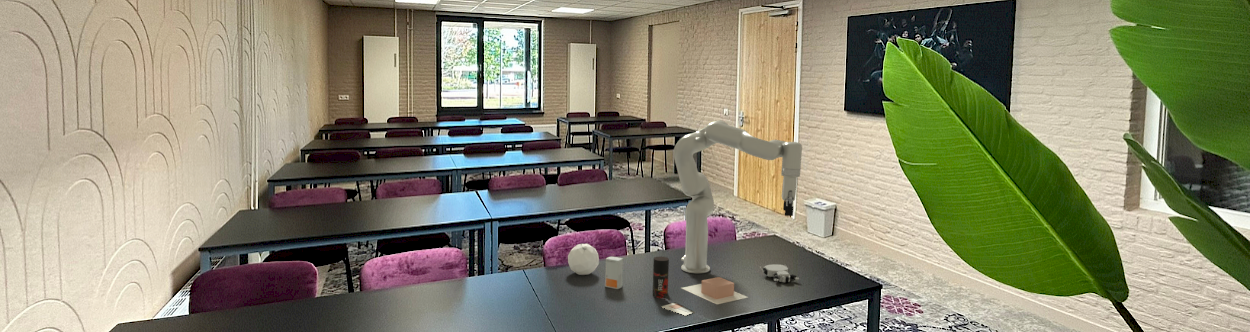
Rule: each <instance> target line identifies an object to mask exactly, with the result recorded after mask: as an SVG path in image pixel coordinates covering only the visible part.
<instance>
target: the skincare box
mask: <svg viewBox="0 0 1250 332" xmlns="http://www.w3.org/2000/svg"><path fill="white" fill-rule="evenodd" d="M623 270H624V258H623V257H618V256H608V257H606V258H605V277H604V281H605V282H604V286H605V287H606V288H610V289H614V290H619V289H621V288H623V279H624V278H623V277H624V273H623V272H624V271H623Z"/></svg>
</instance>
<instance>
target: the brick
mask: <svg viewBox="0 0 1250 332" xmlns="http://www.w3.org/2000/svg"><path fill="white" fill-rule="evenodd" d="M700 284H701V293H703V294H705V295H708V296H710V297H712V298H714V299H720V298H724V297H729V296H733V295H734V291H735V282H732V281H730V280H727V279H725V278H722V277H720V276H718V277H717V276H716V277H712V278H708V279H702V280H701V283H700Z"/></svg>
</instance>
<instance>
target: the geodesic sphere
mask: <svg viewBox="0 0 1250 332" xmlns="http://www.w3.org/2000/svg"><path fill="white" fill-rule="evenodd" d="M567 262H568V266H569V268H570V270H571V271H572V272H574V273H575V274H577V275H579V276H585V275H591V273H593V272H595V271H596V268H597V267H598V266H599V264H600V259H599V253H598V251H597V249H596V248H595V247H594V246H592V245H590V244H589V243H579V244H576V245H575V246H574V247H573V248H572V249H571V250H570V251H569V253H568V255H567Z"/></svg>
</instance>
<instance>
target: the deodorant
mask: <svg viewBox="0 0 1250 332" xmlns="http://www.w3.org/2000/svg"><path fill="white" fill-rule="evenodd" d="M669 261H670V258H669V257H666V256H655V257H654V258H653V271H652V297H653V298H656V299H665V298H667V297H665V296H667V295H668V294H669V267H670V264H669V263H670V262H669Z"/></svg>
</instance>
